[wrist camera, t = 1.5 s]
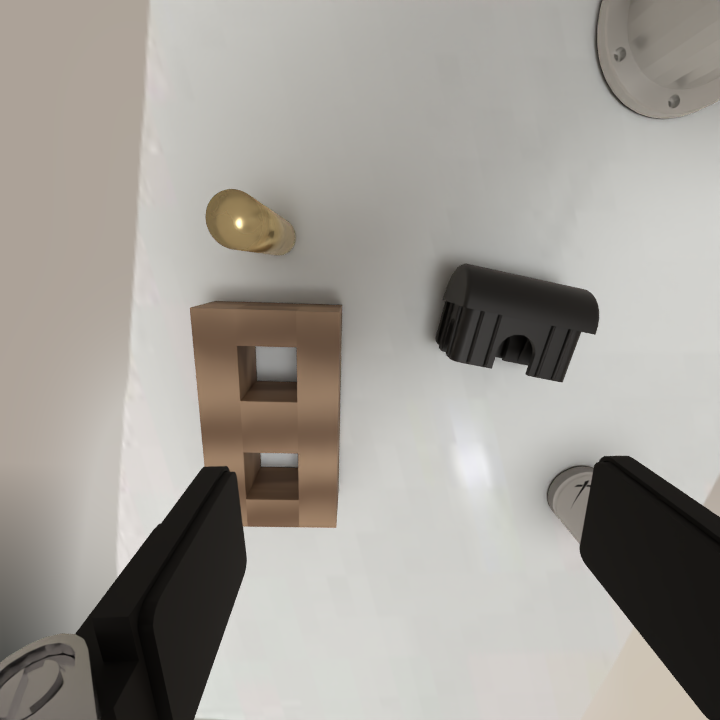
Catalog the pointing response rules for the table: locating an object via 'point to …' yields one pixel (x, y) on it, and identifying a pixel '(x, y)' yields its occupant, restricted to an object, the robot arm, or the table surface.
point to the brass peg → (247, 224)
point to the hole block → (272, 407)
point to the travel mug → (571, 498)
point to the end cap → (514, 320)
